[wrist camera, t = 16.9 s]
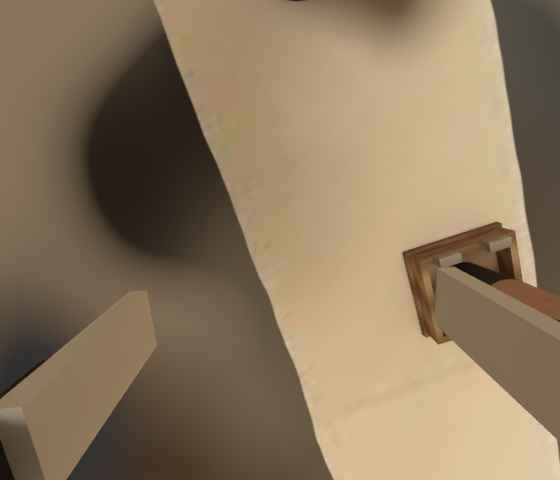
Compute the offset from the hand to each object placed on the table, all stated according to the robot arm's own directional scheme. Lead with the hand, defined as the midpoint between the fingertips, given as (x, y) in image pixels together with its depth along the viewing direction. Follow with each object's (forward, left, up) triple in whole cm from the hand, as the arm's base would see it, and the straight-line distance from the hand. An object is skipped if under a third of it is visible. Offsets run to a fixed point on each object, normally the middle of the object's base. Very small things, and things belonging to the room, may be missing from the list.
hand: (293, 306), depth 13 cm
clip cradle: (+13, +28, -31) cm, 44 cm away
